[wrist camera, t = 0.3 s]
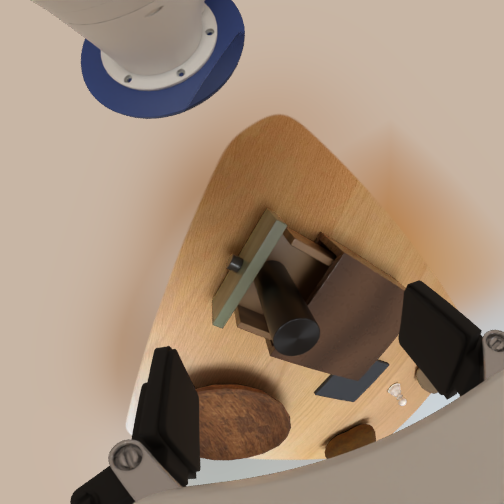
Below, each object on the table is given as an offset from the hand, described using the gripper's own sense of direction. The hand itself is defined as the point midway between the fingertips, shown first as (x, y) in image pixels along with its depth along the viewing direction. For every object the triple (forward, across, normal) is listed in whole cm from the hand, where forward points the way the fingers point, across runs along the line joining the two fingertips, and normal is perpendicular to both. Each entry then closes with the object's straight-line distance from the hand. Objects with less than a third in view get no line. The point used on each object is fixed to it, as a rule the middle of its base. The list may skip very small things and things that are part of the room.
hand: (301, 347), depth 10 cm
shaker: (+20, -1, +7) cm, 21 cm away
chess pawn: (+22, -22, +40) cm, 51 cm away
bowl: (+22, +10, +31) cm, 39 cm away
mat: (+22, -12, +31) cm, 40 cm away
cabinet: (+22, -9, +14) cm, 27 cm away
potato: (+22, -12, +53) cm, 58 cm away
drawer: (+21, -3, +8) cm, 23 cm away
